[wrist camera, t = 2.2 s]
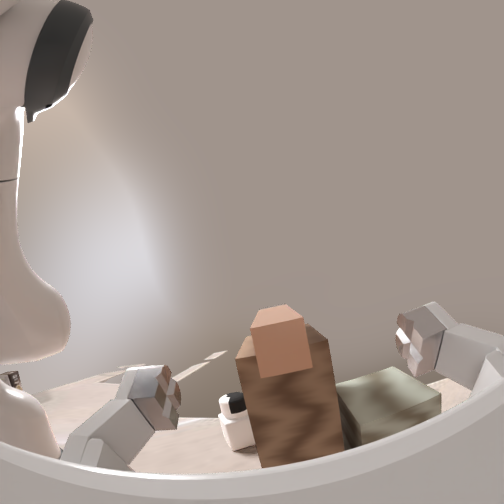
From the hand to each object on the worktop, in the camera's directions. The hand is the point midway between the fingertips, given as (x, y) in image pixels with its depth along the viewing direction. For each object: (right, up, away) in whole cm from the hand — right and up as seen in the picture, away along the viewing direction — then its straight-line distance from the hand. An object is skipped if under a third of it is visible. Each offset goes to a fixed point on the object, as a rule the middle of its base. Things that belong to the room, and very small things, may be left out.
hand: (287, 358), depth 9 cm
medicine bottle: (-3, -39, +45) cm, 60 cm away
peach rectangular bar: (+2, -7, +23) cm, 24 cm away
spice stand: (+14, -32, +24) cm, 42 cm away
